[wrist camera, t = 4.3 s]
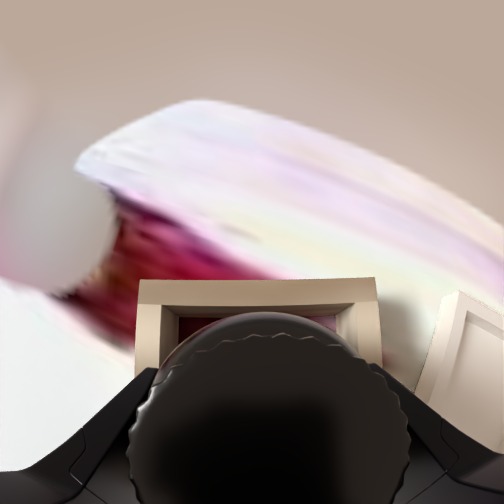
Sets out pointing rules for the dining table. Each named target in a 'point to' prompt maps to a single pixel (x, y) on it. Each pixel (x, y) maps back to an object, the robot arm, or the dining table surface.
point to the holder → (254, 309)
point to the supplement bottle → (268, 420)
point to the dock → (467, 369)
